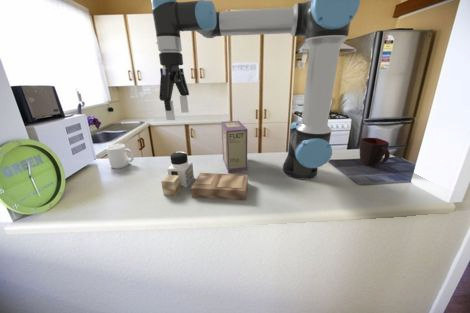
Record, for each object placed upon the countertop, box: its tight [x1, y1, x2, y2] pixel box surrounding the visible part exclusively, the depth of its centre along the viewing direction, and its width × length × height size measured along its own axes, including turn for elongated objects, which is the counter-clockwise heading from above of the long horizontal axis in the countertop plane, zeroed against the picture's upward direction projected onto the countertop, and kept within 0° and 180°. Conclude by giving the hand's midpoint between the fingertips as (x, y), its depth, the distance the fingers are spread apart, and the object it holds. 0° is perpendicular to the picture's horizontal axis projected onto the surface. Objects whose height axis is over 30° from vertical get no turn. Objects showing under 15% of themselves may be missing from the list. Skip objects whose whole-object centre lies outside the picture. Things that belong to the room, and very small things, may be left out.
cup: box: [105, 143, 134, 169], centre depth 100 cm, size 8×12×10 cm
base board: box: [190, 172, 249, 201], centre depth 78 cm, size 20×12×4 cm, turn 83°
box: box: [220, 120, 248, 174], centre depth 97 cm, size 17×9×20 cm, turn 12°
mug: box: [359, 137, 391, 168], centre depth 94 cm, size 10×14×12 cm
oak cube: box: [161, 174, 182, 196], centre depth 78 cm, size 5×5×6 cm
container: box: [166, 151, 195, 187], centre depth 84 cm, size 8×8×13 cm
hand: (178, 115), depth 76 cm, fingers open, 13 cm apart
